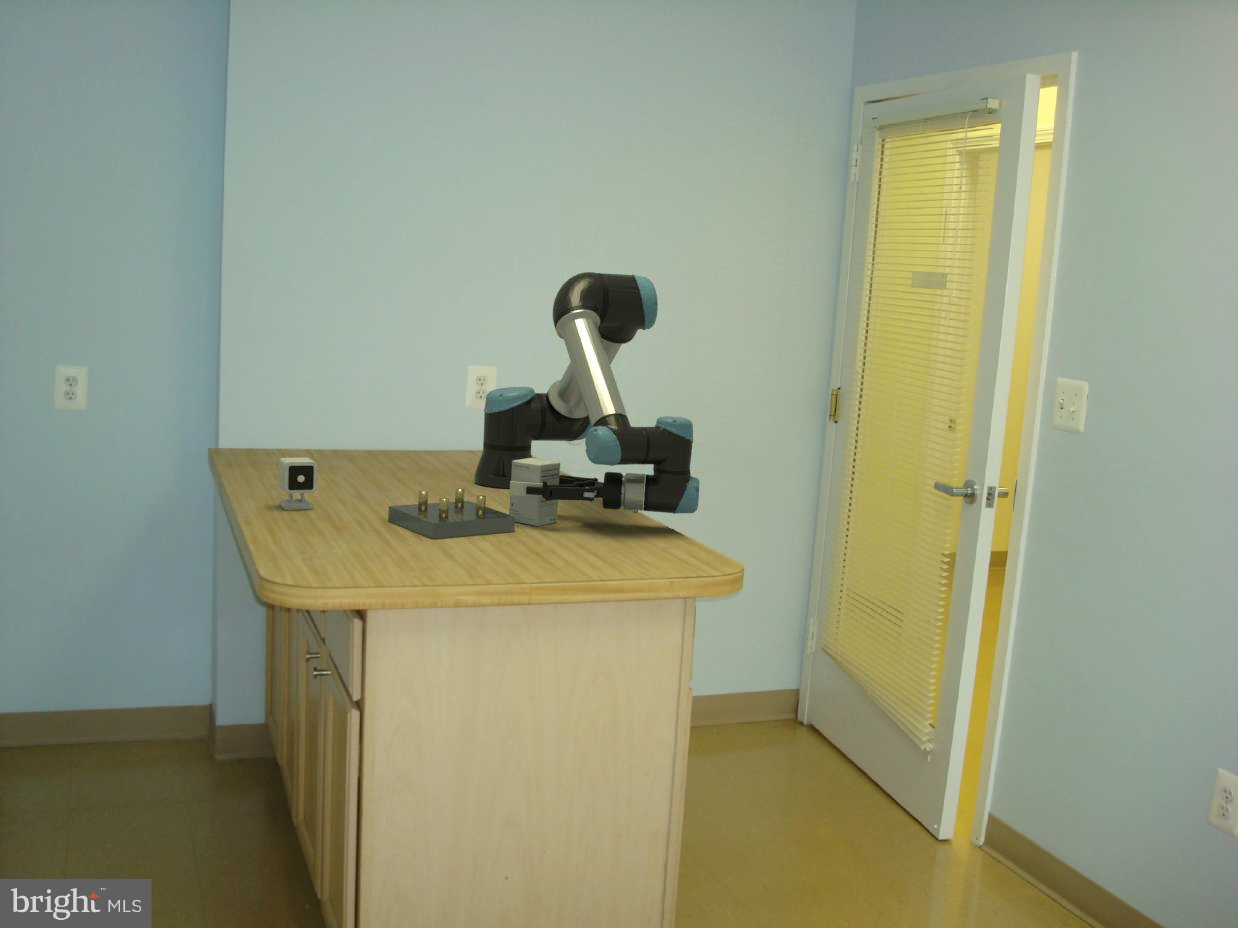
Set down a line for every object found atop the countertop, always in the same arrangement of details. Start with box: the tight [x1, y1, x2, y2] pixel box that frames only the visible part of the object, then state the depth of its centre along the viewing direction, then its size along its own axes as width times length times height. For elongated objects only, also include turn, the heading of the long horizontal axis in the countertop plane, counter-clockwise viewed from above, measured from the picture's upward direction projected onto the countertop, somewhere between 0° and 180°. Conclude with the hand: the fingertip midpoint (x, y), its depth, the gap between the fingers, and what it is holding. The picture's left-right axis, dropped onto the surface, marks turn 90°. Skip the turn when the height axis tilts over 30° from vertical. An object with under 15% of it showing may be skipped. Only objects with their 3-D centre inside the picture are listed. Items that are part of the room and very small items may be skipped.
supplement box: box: [508, 457, 561, 527], centre depth 236 cm, size 7×7×13 cm
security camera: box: [278, 457, 318, 511], centre depth 236 cm, size 6×7×10 cm
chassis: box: [387, 487, 516, 540], centre depth 227 cm, size 18×18×6 cm
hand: (513, 484), depth 236 cm, fingers closed on supplement box, 10 cm apart
